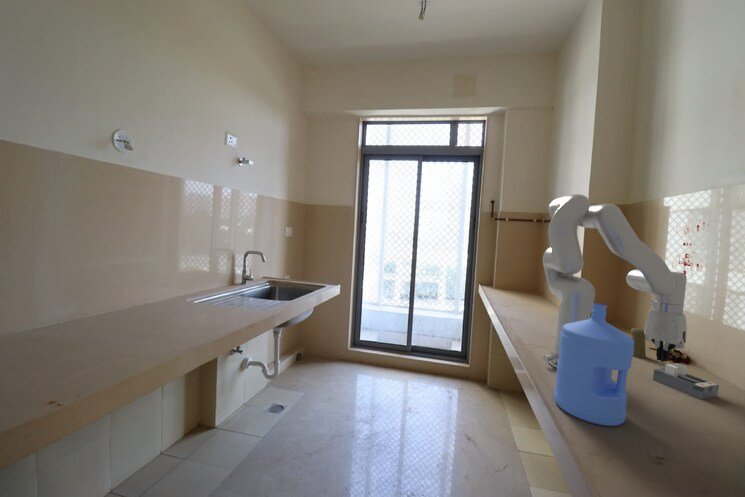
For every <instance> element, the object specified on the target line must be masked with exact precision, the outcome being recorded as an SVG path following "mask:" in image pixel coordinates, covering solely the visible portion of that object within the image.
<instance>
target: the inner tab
mask: <svg viewBox="0 0 745 497" xmlns="http://www.w3.org/2000/svg"><path fill="white" fill-rule="evenodd" d="M664 368H665V373H666V374H669V375H672V376H674V377H677V376H678V369H679V367H677V366H674V364H670V363H669V364H667V363H666V364H665V367H664Z"/></svg>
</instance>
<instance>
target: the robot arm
mask: <svg viewBox="0 0 745 497" xmlns="http://www.w3.org/2000/svg"><path fill="white" fill-rule="evenodd" d="M548 212H549V215H550V217H551V219H550V222H549V225H548V230H547V231H548V232H547V234H548V239H549V246H550V247H548V248H547V249H546V250H545V251H544V253H543V256H542V265H543V270H544V275H545V277H546V278H545V279H546V282H547V286H548V288H549V291H550V293H551V294H552V295H553V296H555V297H556V298H557V299H560V300H561V302H560V304H559V306H558V309H557V313H556V314H557V315H556V322H555V332H554V341H553V350H551V354H545V355H543V356H542V358H543V360H544V362H547V363H548V364H549V365H551V367H554V368H556V369H557V364H558V360H559V352H560V343H561V341H560V337H561V331H562V327H563V325H565V324H568V323H573V322H578V321H583V320H588V319H590V318H591V316H590V315H591V313H592V312H591V310H592V308H593V306H592V304H594V302H595V300H596V299H595V297H596V289H595V287H594V285H593V284H592V283H591V282H590V281H588V280H587V279H585V278H583V277H578V276H575V274H578V273H579V272H581V271H582V270H583V269H584V263H585V262H584V258H583V254H582V250H581V246H580V241H579V237H578V227H582V228H587V229H597V231H598V233H599V235H601V238H602V239H603V241H604V242H605V244H606V246H607V247H608V249H609V250H610V252H611V253H613V254H614V255H616V256H618V257H620V258H621V259H622V260H626V261H627V262H629V263H630V264H631V265H633V266H634V267H635V268H636V269H633V270H631V271H628V273H627V274H626V278H625V280H626V283H627V285H628V286H629V287H630V288H632V289H634V290H637V291H641V292H645V293H649V294H654V297H653V300H650V301H649V305H651V306H652V308H649V310H648V313H647V316H646V318H645V322H644V323H645V324H644V334H645V335H646V338H645V339H647V340H649V341H651V342H652V343H653V345H654V346H655V348H656V354H655V356H656V360H657V361H660V362H668V361H669V360H670V356H671V351H672V350H674V349H678V350H679V349H680V350H682V349H685V348H686V346H685V344H686V342H687V336H688V335H687V334H688V332H687V331H688V329H687V328H688V326H687V318H686V315H685V314H684V307H685V298H686V289H687V282H688V281H687V279H688V278H687V274H685V273H683V272H679V271H671V269H670V268H669V267H668V265H667V263H666V262H665V261H664V260H663V258H662V257H661V256H659V254H658V253H656V251H654V250H653V249H651V248H650V247H649V246H648V245H647V244H645V243H644V242H643V241H641V240H640V239H639V237H638V236H637V234H636V233H635V231H634V230H633V227H632V226H631V224H630V223H629V221H628V219H627V218H626V216H625V215H624V214H623V212H622V210H621V208H619V207H618V206H617V205H616V204H612V203H599V204H591V203H590V200H589V198H588V196H586V195H583V194H580V193H579V194H578V193H577V194H576V193H575V194H570V195H569V194H568V195H565V196H559V197H558V198H556V199H554V200H552V201H551V203H550V204H549V206H548Z"/></svg>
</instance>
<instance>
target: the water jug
mask: <svg viewBox="0 0 745 497" xmlns="http://www.w3.org/2000/svg"><path fill="white" fill-rule="evenodd" d="M607 308H608V306H607V305H606V304H601V303H593V304H592V308H591V312H590V315H591V316H590V317H589V319H588V320H583V321H578V322H573V323H568V324H565V325H563V327H562V331H561V337H560V341H561V343H560V352H559V360H558V364H557V368H556V371H557V372H556V380H555V389H554V393H553V399H554V401H555V403H556V405H558V406H559V408H560V409H562V410H563V411H564V412H566V413H567V414H569V415H570V416H572V417H575V418H577V419H580V420H581V421H584V422H588V423H591V424H594V425H599V426H604V427H605V426H606V427H615V426H620V425H622V424H623V423H625V421H626V416H627V402H628V393H627V392H628V391H626V389H627V388H626V387H627V380H628V379H627V378H628V371H629V370H630V369H631V368H632V363H633V362H632V361H633V354H634V340H633V339H632V338H631V337H632V336H630V335H629V334H627V333H625V332H623V331H621V330H620V329H618V328H617V327H615V326H614V325H612V324H610V323H608V322H607V321H606V318H607ZM613 371H617V379H616V382H614V380H613V379H612V374H613Z"/></svg>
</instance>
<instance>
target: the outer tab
mask: <svg viewBox="0 0 745 497" xmlns="http://www.w3.org/2000/svg"><path fill="white" fill-rule="evenodd" d="M673 365H674V366H677V367H679V369H678V374H681V375H683V376H686V374H687V371H688V366H687V365H684V364H682V363H680V362H679V363H678V362H677V363H673Z"/></svg>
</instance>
